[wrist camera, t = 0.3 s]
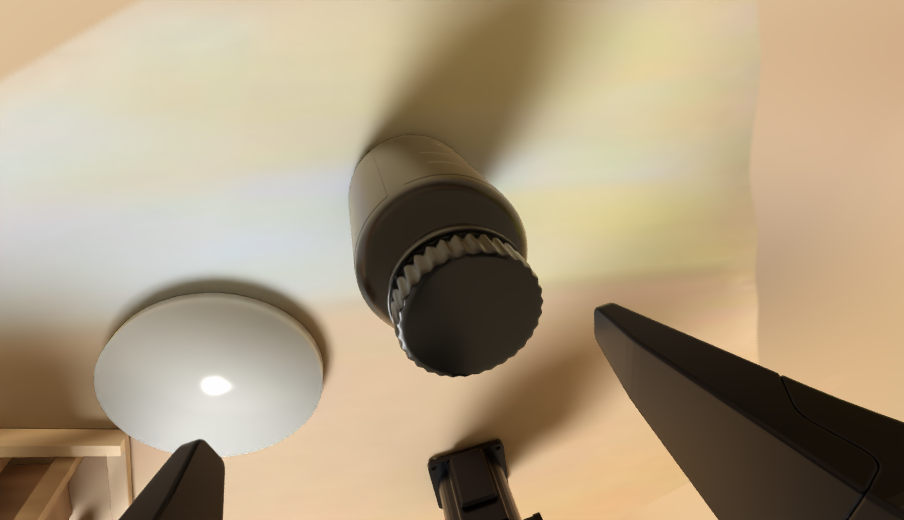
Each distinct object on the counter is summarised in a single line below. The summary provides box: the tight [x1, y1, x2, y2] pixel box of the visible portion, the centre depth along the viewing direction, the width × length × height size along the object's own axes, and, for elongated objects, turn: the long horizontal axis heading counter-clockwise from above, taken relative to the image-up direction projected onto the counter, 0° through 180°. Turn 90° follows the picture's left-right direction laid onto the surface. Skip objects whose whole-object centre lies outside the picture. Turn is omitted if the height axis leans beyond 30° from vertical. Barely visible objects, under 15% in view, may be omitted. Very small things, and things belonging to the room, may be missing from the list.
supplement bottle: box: [349, 135, 543, 377], centre depth 18 cm, size 7×7×12 cm
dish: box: [94, 293, 323, 457], centre depth 25 cm, size 12×12×1 cm
